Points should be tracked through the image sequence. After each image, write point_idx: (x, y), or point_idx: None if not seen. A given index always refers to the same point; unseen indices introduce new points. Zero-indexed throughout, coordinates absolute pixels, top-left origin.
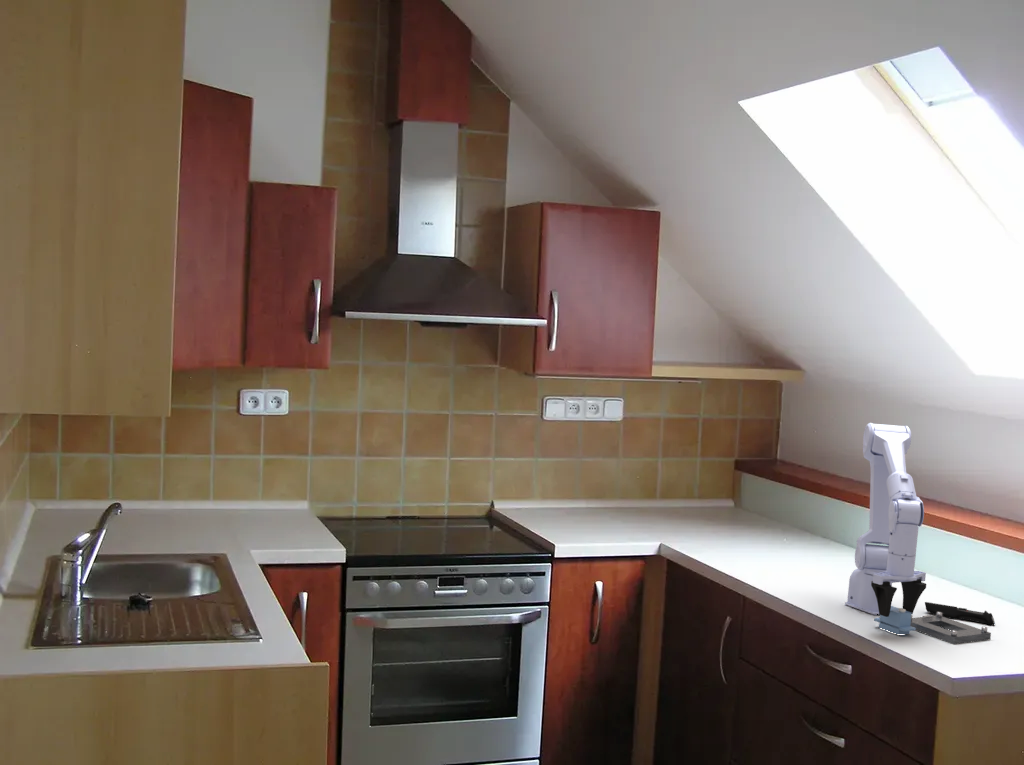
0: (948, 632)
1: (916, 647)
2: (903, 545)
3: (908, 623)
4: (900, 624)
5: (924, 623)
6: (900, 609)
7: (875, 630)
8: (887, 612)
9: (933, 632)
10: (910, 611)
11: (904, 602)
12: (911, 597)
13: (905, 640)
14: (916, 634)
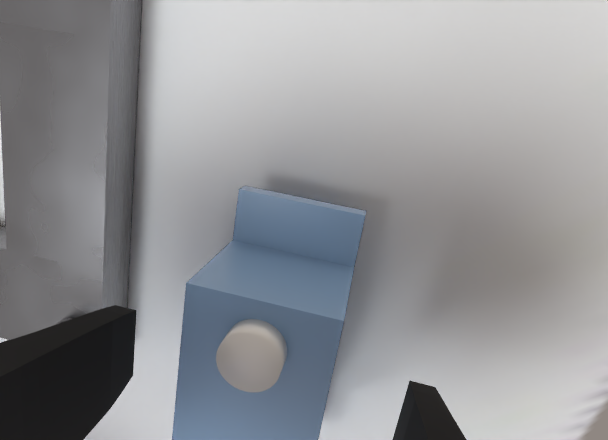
0: (49, 12)
1: (532, 3)
2: None
3: (247, 253)
4: (341, 273)
5: (39, 238)
6: (280, 367)
7: (385, 383)
8: (447, 411)
9: (119, 112)
10: (121, 325)
11: (75, 433)
12: (8, 423)
13: (418, 160)
14: (200, 200)
